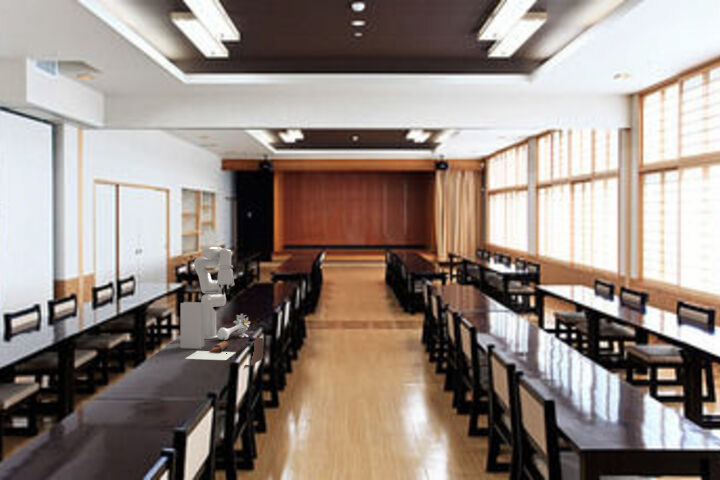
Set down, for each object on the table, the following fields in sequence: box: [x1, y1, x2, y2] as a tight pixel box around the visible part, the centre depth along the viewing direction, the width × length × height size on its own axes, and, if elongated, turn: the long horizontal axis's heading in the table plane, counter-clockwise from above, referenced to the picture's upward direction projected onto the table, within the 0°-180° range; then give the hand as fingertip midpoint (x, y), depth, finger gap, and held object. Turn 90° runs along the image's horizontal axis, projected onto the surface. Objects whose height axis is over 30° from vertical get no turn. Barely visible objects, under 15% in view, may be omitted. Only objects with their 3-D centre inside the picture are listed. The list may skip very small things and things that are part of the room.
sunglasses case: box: [208, 340, 229, 353], centre depth 367 cm, size 18×7×7 cm
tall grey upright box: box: [180, 301, 205, 350], centre depth 372 cm, size 14×6×30 cm, turn 84°
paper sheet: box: [184, 350, 237, 361], centre depth 352 cm, size 20×26×1 cm
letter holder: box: [235, 337, 264, 367], centre depth 338 cm, size 10×20×14 cm, turn 168°
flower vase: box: [216, 313, 251, 341], centre depth 402 cm, size 13×18×25 cm
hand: (225, 294), depth 377 cm, fingers closed
